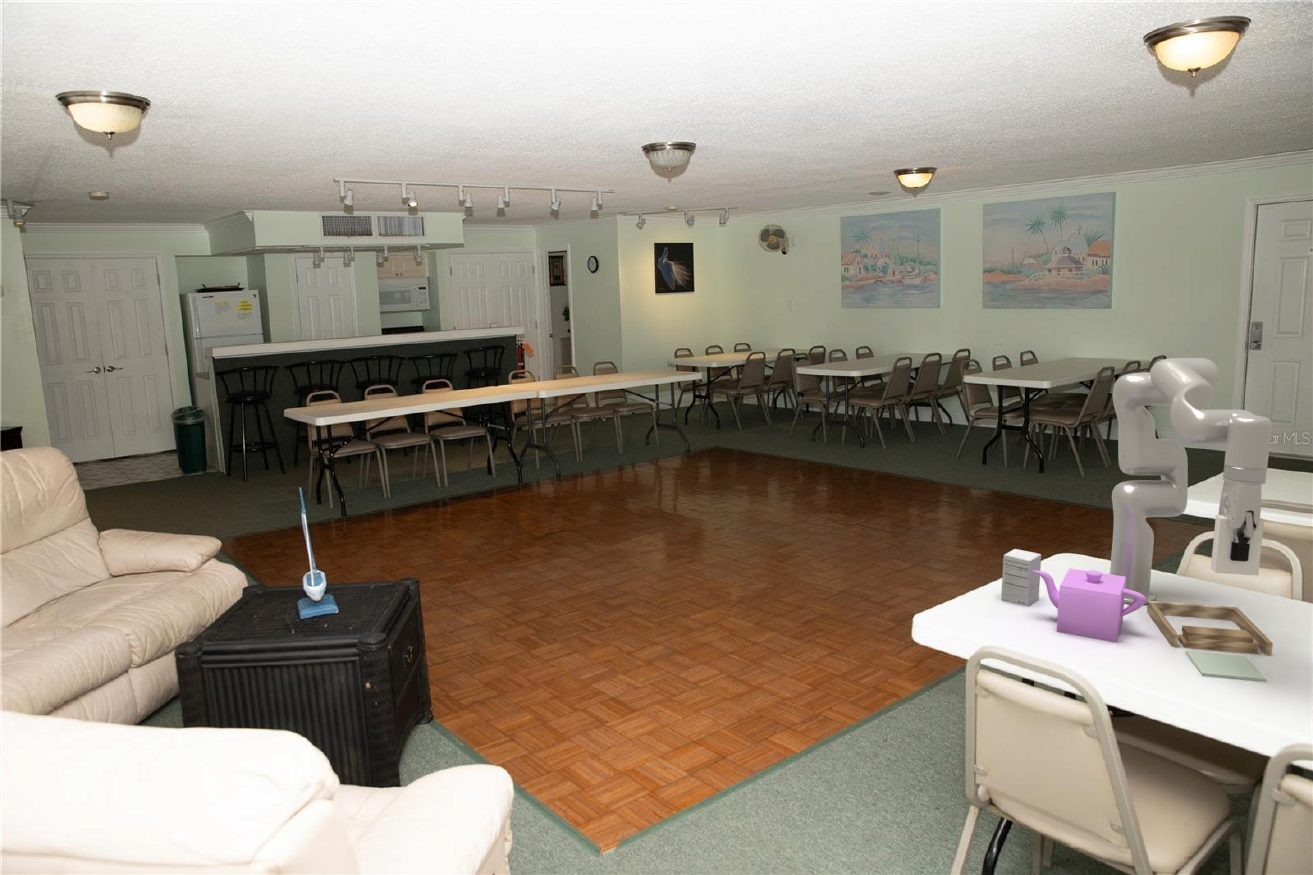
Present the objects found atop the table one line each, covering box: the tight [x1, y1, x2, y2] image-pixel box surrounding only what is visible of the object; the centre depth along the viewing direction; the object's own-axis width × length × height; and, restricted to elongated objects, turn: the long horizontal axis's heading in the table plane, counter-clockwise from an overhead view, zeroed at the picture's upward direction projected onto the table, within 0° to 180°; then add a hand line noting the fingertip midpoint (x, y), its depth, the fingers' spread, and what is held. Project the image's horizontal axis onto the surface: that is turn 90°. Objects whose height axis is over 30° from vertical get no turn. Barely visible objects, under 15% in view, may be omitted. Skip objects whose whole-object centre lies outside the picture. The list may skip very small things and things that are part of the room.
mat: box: [1184, 649, 1268, 682], centre depth 192 cm, size 12×12×1 cm
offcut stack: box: [1178, 624, 1260, 655], centre depth 202 cm, size 15×5×4 cm, turn 74°
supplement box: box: [1000, 548, 1042, 607], centre depth 233 cm, size 7×7×13 cm
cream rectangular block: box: [1210, 514, 1265, 576], centre depth 187 cm, size 8×3×12 cm, turn 74°
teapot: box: [1034, 568, 1146, 643], centre depth 215 cm, size 15×25×14 cm, turn 57°
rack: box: [1146, 600, 1273, 656], centre depth 210 cm, size 20×22×3 cm
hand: (1235, 557), depth 188 cm, fingers closed on cream rectangular block, 3 cm apart
